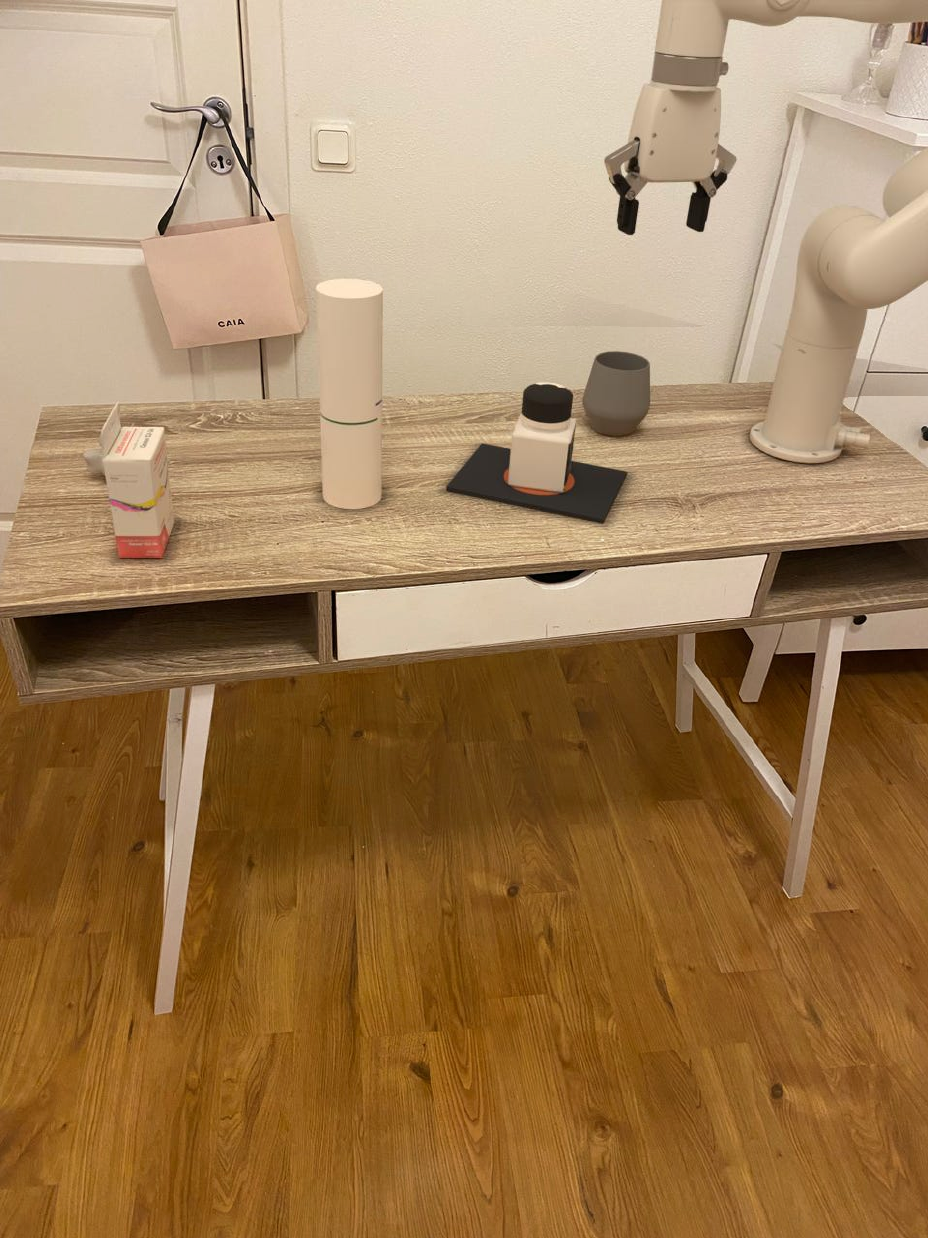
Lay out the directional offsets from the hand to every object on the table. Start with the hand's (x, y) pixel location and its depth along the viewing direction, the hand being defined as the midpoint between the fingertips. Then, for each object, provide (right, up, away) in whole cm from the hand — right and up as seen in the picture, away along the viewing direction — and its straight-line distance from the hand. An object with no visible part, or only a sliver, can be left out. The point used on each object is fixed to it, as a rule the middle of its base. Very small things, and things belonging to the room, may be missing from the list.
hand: (660, 230), depth 122 cm
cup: (-3, -21, +20) cm, 29 cm away
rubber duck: (-67, -31, 0) cm, 73 cm away
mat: (-15, -30, +5) cm, 34 cm away
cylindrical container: (-38, -33, -1) cm, 50 cm away
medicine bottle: (-15, -30, +4) cm, 34 cm away
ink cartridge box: (-59, -39, -12) cm, 72 cm away
